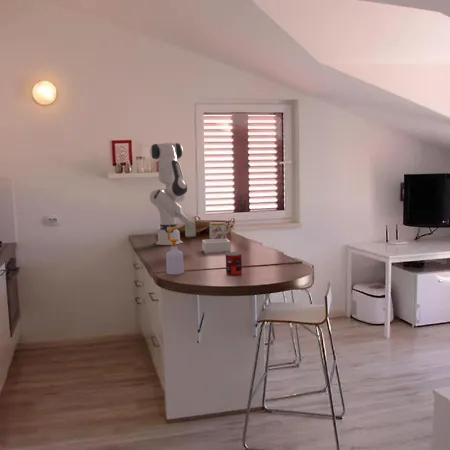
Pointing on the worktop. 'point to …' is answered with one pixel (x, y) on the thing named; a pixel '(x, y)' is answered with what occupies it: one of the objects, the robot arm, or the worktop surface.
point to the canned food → (233, 264)
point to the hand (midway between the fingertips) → (191, 225)
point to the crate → (216, 246)
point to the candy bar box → (217, 230)
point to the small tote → (190, 230)
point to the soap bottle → (174, 257)
